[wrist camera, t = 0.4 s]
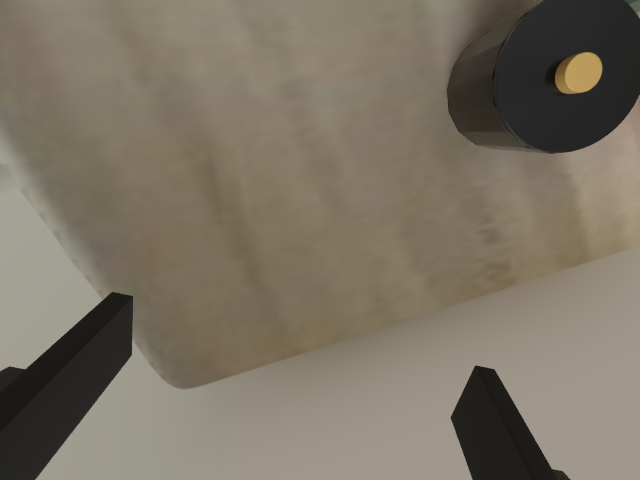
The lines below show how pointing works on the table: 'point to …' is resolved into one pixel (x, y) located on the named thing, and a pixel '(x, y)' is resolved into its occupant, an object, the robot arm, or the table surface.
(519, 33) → the black lidded canister
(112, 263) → the table surface
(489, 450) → the robot arm
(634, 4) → the tin
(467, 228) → the table surface
